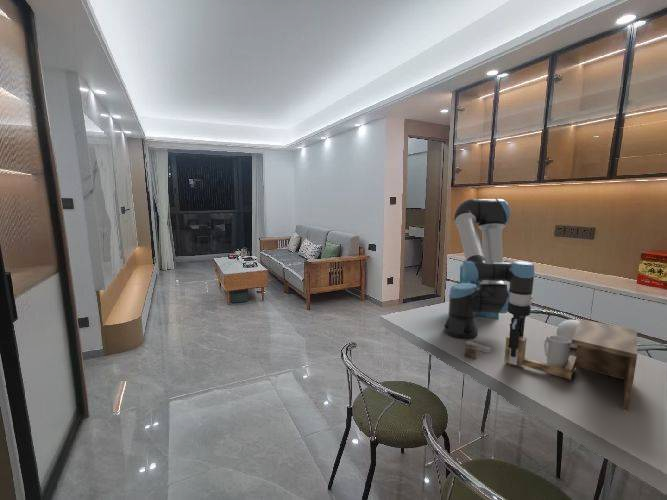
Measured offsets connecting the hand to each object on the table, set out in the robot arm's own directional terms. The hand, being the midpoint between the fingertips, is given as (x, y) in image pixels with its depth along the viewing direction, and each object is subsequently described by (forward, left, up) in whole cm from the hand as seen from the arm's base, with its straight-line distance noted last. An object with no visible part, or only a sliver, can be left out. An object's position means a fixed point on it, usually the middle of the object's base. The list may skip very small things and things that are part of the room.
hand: (514, 361), depth 129 cm
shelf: (+25, +4, -2) cm, 26 cm away
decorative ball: (+15, +33, -2) cm, 36 cm away
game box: (-29, +47, -2) cm, 56 cm away
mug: (+12, +8, -2) cm, 14 cm away
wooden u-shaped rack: (+8, +5, 0) cm, 9 cm away
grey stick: (-15, +5, -2) cm, 16 cm away
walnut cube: (-15, -4, -2) cm, 16 cm away
